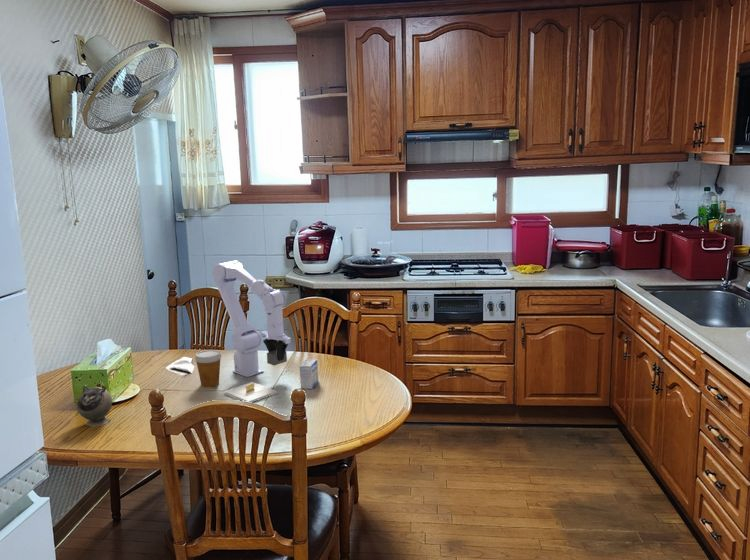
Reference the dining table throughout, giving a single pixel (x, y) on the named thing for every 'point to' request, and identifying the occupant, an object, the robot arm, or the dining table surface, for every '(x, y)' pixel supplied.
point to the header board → (250, 392)
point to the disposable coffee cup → (208, 367)
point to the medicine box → (309, 374)
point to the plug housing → (275, 358)
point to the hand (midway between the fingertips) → (276, 358)
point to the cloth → (181, 366)
